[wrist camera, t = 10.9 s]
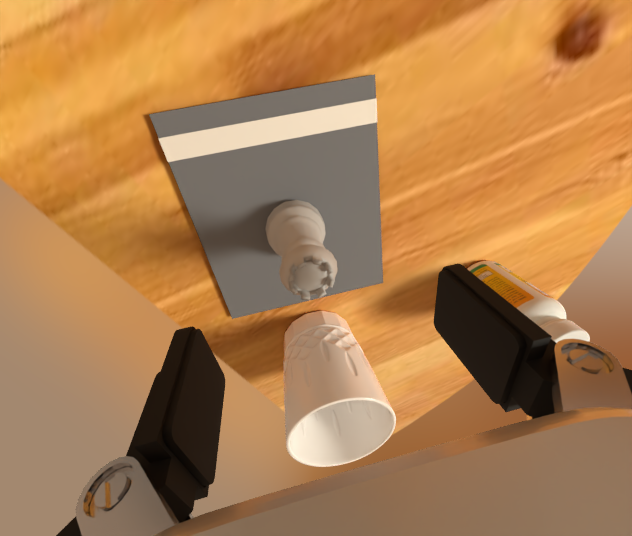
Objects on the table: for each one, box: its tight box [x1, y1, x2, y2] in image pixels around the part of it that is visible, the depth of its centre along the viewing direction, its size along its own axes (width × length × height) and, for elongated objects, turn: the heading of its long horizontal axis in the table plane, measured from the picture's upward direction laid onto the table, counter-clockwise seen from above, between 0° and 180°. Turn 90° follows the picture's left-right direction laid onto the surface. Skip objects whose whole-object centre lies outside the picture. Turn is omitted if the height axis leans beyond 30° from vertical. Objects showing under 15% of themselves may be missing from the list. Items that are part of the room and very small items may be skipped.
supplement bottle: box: [467, 261, 590, 343], centre depth 24 cm, size 5×5×10 cm
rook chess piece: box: [265, 200, 337, 300], centre depth 18 cm, size 4×4×8 cm
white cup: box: [283, 311, 396, 467], centre depth 24 cm, size 8×8×10 cm
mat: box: [149, 75, 383, 319], centre depth 21 cm, size 16×14×1 cm
